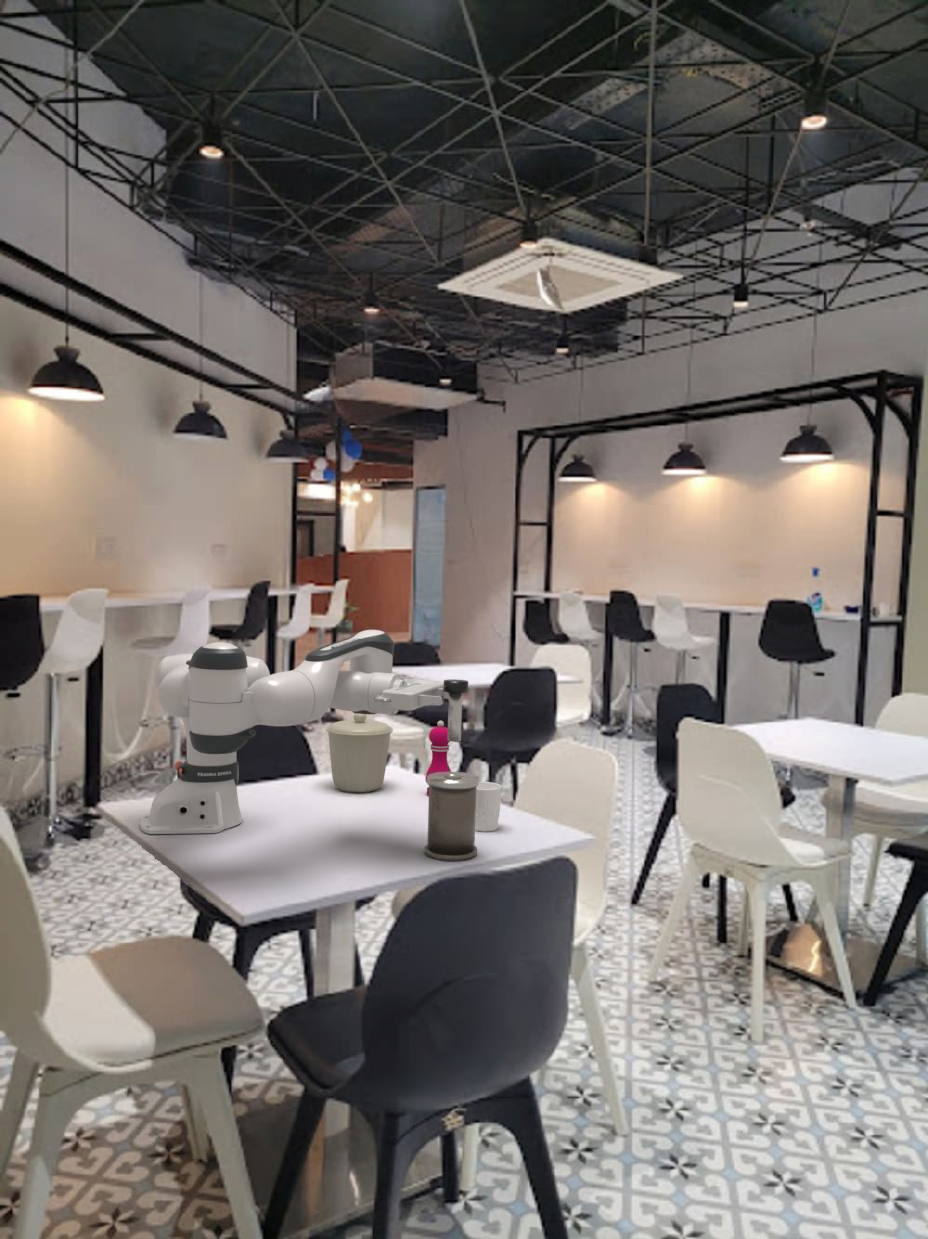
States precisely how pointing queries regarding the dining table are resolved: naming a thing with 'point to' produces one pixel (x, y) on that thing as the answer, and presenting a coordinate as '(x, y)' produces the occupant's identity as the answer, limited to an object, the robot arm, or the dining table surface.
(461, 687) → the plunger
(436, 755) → the pepper mill
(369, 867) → the dining table surface
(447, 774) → the grey thread spool
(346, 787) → the canister
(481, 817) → the white cup
